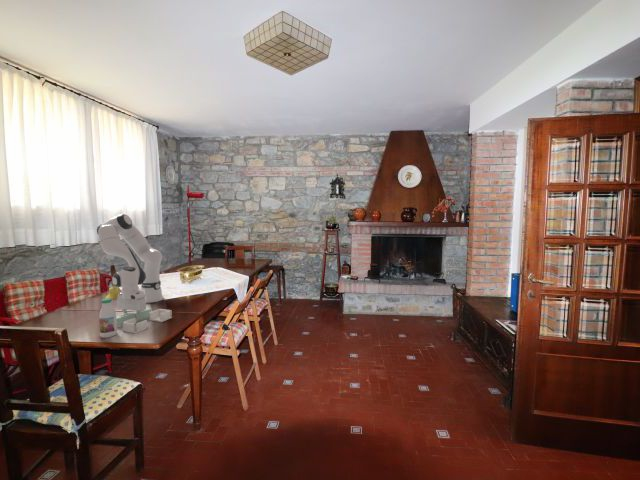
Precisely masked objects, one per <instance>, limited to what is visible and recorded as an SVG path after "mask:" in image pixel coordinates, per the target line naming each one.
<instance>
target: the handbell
mask: <svg viewBox="0 0 640 480" xmlns="http://www.w3.org/2000/svg"><path fill="white" fill-rule="evenodd" d="M116 271H117V269H116V266H115V264H111V265H110V270H109V273H110V276H111V277H112V276H113V274H114V273H116ZM119 293H121V292H120V287H115V286H114V285H113V284H112V283H111V287H110V288H108V294H107V295H106V296H105V298H104V299H106V298H111V299H112V300H115V299H116V300H117V298H118V295H119Z"/></svg>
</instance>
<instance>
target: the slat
mask: <svg viewBox="0 0 640 480" xmlns="http://www.w3.org/2000/svg"><path fill="white" fill-rule="evenodd" d="M152 311H153V310H152V308H149V307H146V309H145V310H144V311H141V313H140V317H139V318H136V317H135V315H136V314H137V313H136V311H133V312H128V314H125V315H124V314H121V315H116V320H117V328H120V327H122V322H124V321H127V320H130V319H133V318H136V323H138V322H141V321H144V320H148V319H149V312H152Z"/></svg>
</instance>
